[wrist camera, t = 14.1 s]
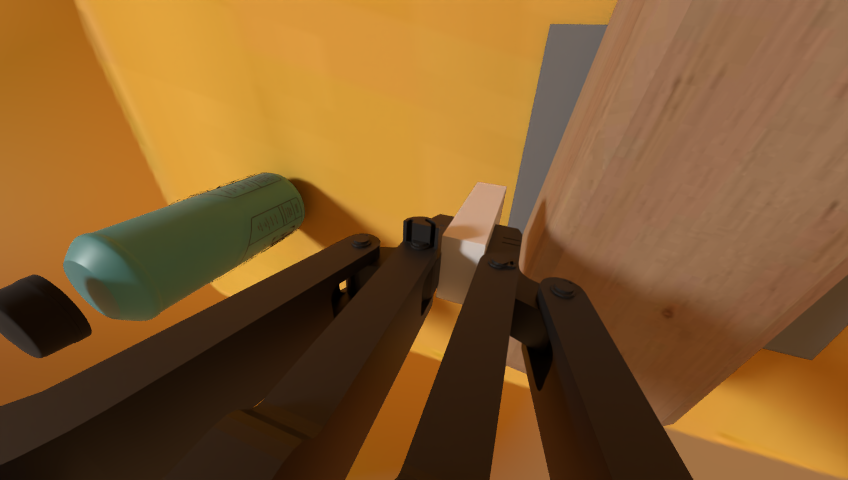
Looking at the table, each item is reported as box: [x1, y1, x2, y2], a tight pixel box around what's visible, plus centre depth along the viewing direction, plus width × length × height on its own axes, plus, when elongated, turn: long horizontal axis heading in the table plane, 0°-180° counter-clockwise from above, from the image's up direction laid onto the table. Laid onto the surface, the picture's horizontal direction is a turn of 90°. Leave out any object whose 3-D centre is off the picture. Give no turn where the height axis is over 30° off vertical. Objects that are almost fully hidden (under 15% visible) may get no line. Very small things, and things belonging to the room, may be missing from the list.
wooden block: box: [506, 0, 848, 426], centre depth 16 cm, size 10×10×20 cm
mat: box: [508, 24, 848, 360], centre depth 19 cm, size 19×22×1 cm
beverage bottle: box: [0, 172, 305, 358], centre depth 23 cm, size 6×7×20 cm
